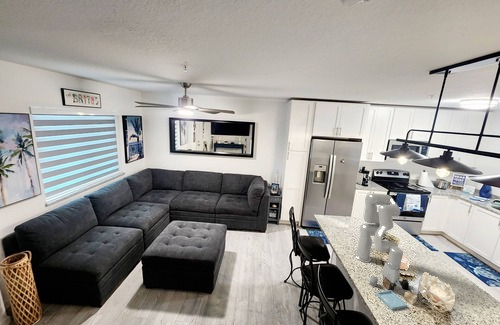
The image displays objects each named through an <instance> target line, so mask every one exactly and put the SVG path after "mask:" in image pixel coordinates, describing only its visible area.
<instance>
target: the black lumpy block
mask: <svg viewBox="0 0 500 325" xmlns="http://www.w3.org/2000/svg"><path fill="white" fill-rule="evenodd" d="M409 282H410V281H409V280H408V279H405V278H402V280H399V283H400V287H401V289H402V290H403V291H406V292H407V291H410V292H412V289H411V287H410V283H409ZM412 293H413V292H412Z"/></svg>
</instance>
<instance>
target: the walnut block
mask: <svg viewBox="0 0 500 325" xmlns="http://www.w3.org/2000/svg"><path fill="white" fill-rule="evenodd" d="M390 285H391V282H390V281H389V280H388V279H387V278H384V282H383V281H382V286H383V287H384V288H385V289H386V291H388V290H390Z"/></svg>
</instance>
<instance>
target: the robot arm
mask: <svg viewBox="0 0 500 325" xmlns="http://www.w3.org/2000/svg"><path fill="white" fill-rule="evenodd" d="M364 202H365V207H364V215H363V221H364V222H365V223H362V224H360V227H359V232H360V234H359V239H358V240H359V241H358V246H357V247H355V248H354V251H355V253H354V257H355V258H356V259H357V260H358V261H361V262H363V263H369V262H371V260H372V258H371V257H370V256H371V249H372V246H373V239H374V247H375V249H376V251H377V252H380V253H388V257H387V258H385V259H386V261H385V263H384V265H383V267H382V269H381V270H380V272H381V274H382V278H383V280H382V283H383V282H384V278H387V279H388V280H389V281H390V282H391V285H390V290H392V291H394V290H395V289H396V287H401V285H400V283H399V281H400V278H401V269H400V267H401V263H402V259H403V255H404V251H403V250H402V249H401V248H399V246H398V245H397V243H396V242H394V241H390V240H389V241H387V240H383V236H384V234H385V233H386V232H387V231H389V230H392V229H393V228H394V219H393V217H399V216H400V215H401V210H400V207H399V205H398V203H397V202H396V201H395V200H394V198H393V197H392V196H391V195H389V194H385V193H384V194H381V193H368V194H367V195H366V196H365V201H364ZM377 205H378V206H377ZM372 237H374V238H373V239H372Z"/></svg>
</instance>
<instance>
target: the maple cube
mask: <svg viewBox="0 0 500 325" xmlns="http://www.w3.org/2000/svg"><path fill="white" fill-rule="evenodd" d="M417 299H418V295H417V294H415V293H414V292H410V291H407V290H406V292H404V295H403V300H404V302H407V303H408V304H409V305H410V306H411V305H414V304H416V303H417Z"/></svg>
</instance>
